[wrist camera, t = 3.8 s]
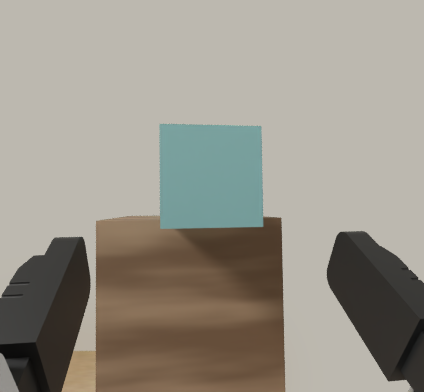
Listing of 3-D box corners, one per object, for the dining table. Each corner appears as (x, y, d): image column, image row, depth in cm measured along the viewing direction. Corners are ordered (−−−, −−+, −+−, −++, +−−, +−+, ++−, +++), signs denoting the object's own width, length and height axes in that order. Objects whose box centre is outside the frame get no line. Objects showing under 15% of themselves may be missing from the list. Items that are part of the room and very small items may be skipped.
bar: (263, 226, 11) (261, 126, 11) (160, 228, 10) (159, 123, 11) (197, 215, 37) (197, 184, 37) (167, 215, 36) (167, 184, 36)
